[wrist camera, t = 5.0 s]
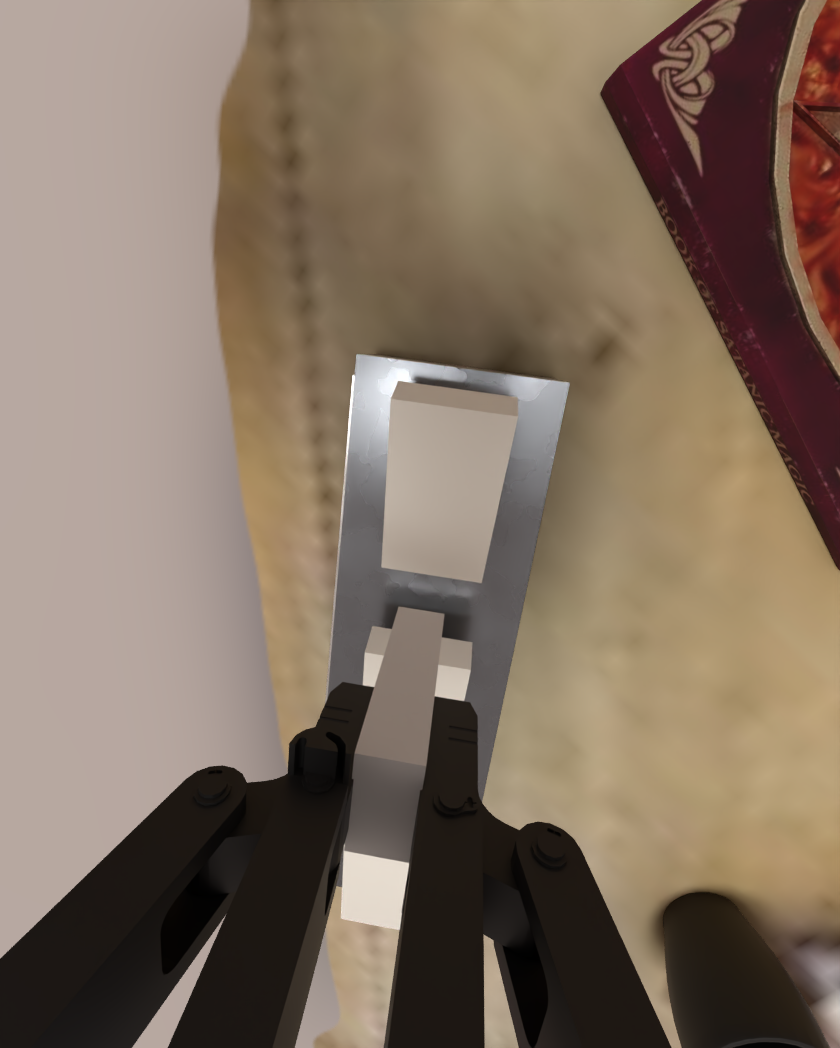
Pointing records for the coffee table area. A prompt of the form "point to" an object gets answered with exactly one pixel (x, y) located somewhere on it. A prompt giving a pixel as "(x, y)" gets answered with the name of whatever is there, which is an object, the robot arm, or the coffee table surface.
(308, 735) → the robot arm
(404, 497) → the block
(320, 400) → the coffee table surface
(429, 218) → the coffee table surface
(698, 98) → the book
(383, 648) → the white rectangular block
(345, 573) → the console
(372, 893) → the block
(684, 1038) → the mug
